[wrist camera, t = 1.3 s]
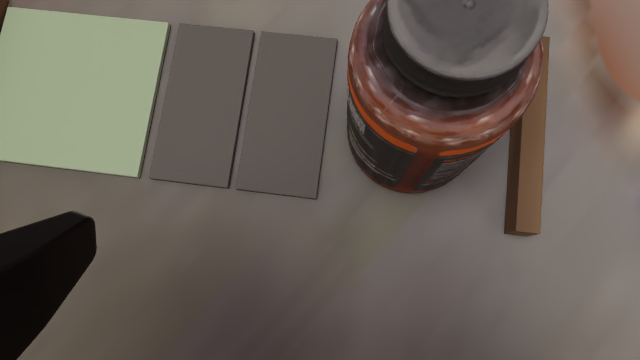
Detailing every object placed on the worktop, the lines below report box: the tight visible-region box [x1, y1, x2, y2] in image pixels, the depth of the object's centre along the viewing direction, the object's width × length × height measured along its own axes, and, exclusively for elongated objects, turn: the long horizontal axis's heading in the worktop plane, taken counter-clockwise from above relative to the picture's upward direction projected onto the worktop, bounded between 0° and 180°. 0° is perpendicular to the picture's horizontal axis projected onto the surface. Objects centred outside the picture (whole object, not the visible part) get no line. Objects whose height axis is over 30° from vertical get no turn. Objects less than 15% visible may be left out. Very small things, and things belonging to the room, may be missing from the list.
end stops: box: [0, 0, 550, 236], centre depth 23 cm, size 28×9×2 cm, turn 83°
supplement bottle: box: [347, 0, 548, 193], centre depth 17 cm, size 6×6×11 cm
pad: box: [0, 7, 170, 178], centre depth 24 cm, size 9×8×1 cm
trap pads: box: [149, 23, 337, 199], centre depth 23 cm, size 8×8×1 cm
